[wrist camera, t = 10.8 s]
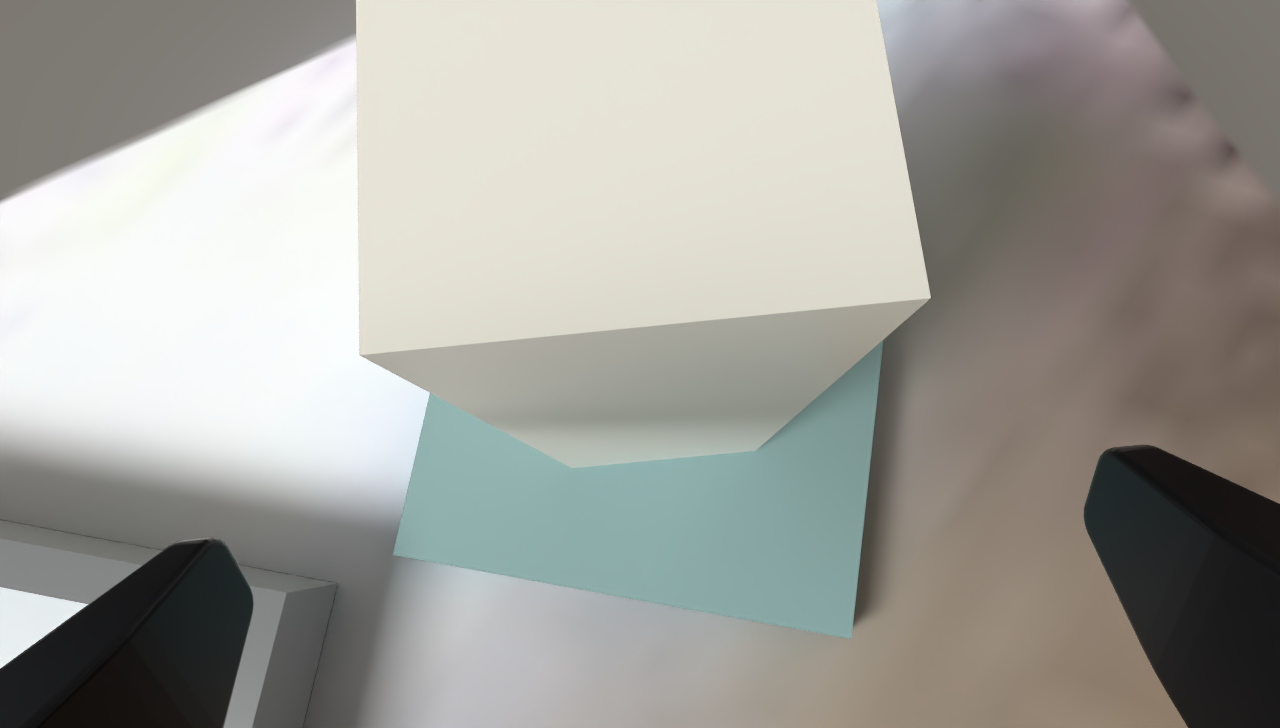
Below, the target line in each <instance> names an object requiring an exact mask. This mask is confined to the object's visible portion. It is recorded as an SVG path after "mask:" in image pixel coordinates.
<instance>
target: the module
mask: <svg viewBox="0 0 1280 728" xmlns="http://www.w3.org/2000/svg"><path fill="white" fill-rule="evenodd" d="M356 43H357V142H358V242H359V341H360V356H362V357H364V358H366V359H368V360H370V361H371V362H373V363H375V364H377V365H379V366H381V367H383V368H385V369H386V370H388V371H390V372H392V373H394V374H396V375H398V376H400V377H401V378H403V379H405V380H407V381H409V382H411V383H413V384H415V385H417V386H418V387H420V388H422V389H424V390H426V391H428V392H430V393H432V394H433V395H435V396H437V397H439V398H441V399H443V400H445V401H447V402H448V403H450V404H452V405H454V406H456V407H458V408H460V409H462V410H463V411H465V412H467V413H469V414H471V415H473V416H475V417H477V418H478V419H480V420H482V421H484V422H486V423H488V424H490V425H492V426H493V427H495V428H497V429H499V430H501V431H503V432H505V433H507V434H508V435H510V436H512V437H514V438H516V439H518V440H520V441H522V442H523V443H525V444H527V445H529V446H531V447H533V448H535V449H537V450H539V451H540V452H542V453H544V454H546V455H548V456H550V457H552V458H554V459H555V460H557V461H559V462H561V463H563V464H565V465H567V466H569V467H570V468H580V467H591V466H601V465H612V464H622V463H633V462H643V461H654V460H664V459H675V458H685V457H696V456H706V455H717V454H727V453H738V452H748V451H756V450H757V449H758V448H759V447H760V446H762V445H763V444H764V443H765V442H766V441H767V440H769V439H770V438H771V437H772V436H773V435H774V434H775V433H777V432H778V431H779V430H780V429H781V428H782V427H783V426H785V425H786V424H787V423H788V422H789V421H790V420H792V419H793V418H794V417H795V416H796V415H797V414H798V413H800V412H801V411H802V410H803V409H804V408H805V407H806V406H808V405H809V404H810V403H811V402H812V401H813V400H814V399H816V398H817V397H818V396H819V395H820V394H821V393H823V392H824V391H825V390H826V389H827V388H828V387H829V386H831V385H832V384H833V383H834V382H835V381H836V380H837V379H839V378H840V377H841V376H842V375H843V374H844V373H846V372H847V371H848V370H849V369H850V368H851V367H852V366H854V365H855V364H856V363H857V362H858V361H859V360H860V359H862V358H863V357H864V356H865V355H866V354H867V353H869V352H870V351H871V350H872V349H873V348H874V347H875V346H877V345H878V344H879V343H880V342H881V341H882V340H883V339H885V338H886V337H887V336H888V335H889V334H890V333H892V332H893V331H894V330H895V329H896V328H897V327H898V326H900V325H901V324H902V323H903V322H904V321H905V320H906V319H908V318H909V317H910V316H911V315H912V314H913V313H915V312H916V311H917V310H918V309H919V308H920V307H921V306H923V305H924V304H925V303H926V302H927V301H928V300H929V299H931V295H930V290H929V285H928V279H927V274H926V268H925V263H924V257H923V252H922V246H921V241H920V236H919V230H918V225H917V219H916V214H915V208H914V203H913V197H912V192H911V186H910V181H909V176H908V170H907V165H906V159H905V154H904V148H903V143H902V137H901V132H900V127H899V121H898V116H897V110H896V105H895V99H894V94H893V88H892V83H891V77H890V72H889V67H888V61H887V56H886V50H885V45H884V39H883V34H882V28H881V23H880V18H879V12H878V7H877V1H876V0H356Z"/></svg>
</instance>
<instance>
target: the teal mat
mask: <svg viewBox="0 0 1280 728" xmlns="http://www.w3.org/2000/svg"><path fill="white" fill-rule="evenodd" d="M882 349H883V340H882V341H881V342H880V343H879V344H878V345H877V346H875V347H874V348H873V349H872V350H871V351H870V352H869V353H867V354H866V355H865V356H864V357H863V358H862V359H860V360H859V361H858V362H857V363H856V364H855V365H854V366H852V367H851V368H850V369H849V370H848V371H847V372H846V373H844V374H843V375H842V376H841V377H840V378H839V379H837V380H836V381H835V382H834V383H833V384H832V385H831V386H829V387H828V388H827V389H826V390H825V391H824V392H823V393H821V394H820V395H819V396H818V397H817V398H816V399H814V400H813V401H812V402H811V403H810V404H809V405H808V406H806V407H805V408H804V409H803V410H802V411H801V412H800V413H798V414H797V415H796V416H795V417H794V418H793V419H792V420H790V421H789V422H788V423H787V424H786V425H785V426H783V427H782V428H781V429H780V430H779V431H778V432H777V433H775V434H774V435H773V436H772V437H771V438H770V439H769V440H767V441H766V442H765V443H764V444H763V445H762V446H760V447H759V448H758V449H757V450H756V451H748V452H738V453H727V454H717V455H706V456H696V457H685V458H675V459H664V460H654V461H643V462H633V463H622V464H612V465H601V466H591V467H580V468H570V467H569V466H567V465H565V464H563V463H561V462H559V461H557V460H555V459H554V458H552V457H550V456H548V455H546V454H544V453H542V452H540V451H539V450H537V449H535V448H533V447H531V446H529V445H527V444H525V443H523V442H522V441H520V440H518V439H516V438H514V437H512V436H510V435H508V434H507V433H505V432H503V431H501V430H499V429H497V428H495V427H493V426H492V425H490V424H488V423H486V422H484V421H482V420H480V419H478V418H477V417H475V416H473V415H471V414H469V413H467V412H465V411H463V410H462V409H460V408H458V407H456V406H454V405H452V404H450V403H448V402H447V401H445V400H443V399H441V398H439V397H437V396H435V395H433V394H432V393H430V396H429V400H428V404H427V409H426V413H425V417H424V421H423V426H422V430H421V434H420V439H419V443H418V447H417V452H416V456H415V460H414V465H413V469H412V473H411V478H410V482H409V486H408V490H407V495H406V499H405V503H404V508H403V512H402V516H401V521H400V525H399V529H398V534H397V538H396V542H395V547H394V551H393V555H396V556H402V557H407V558H413V559H418V560H424V561H429V562H434V563H440V564H445V565H451V566H456V567H462V568H467V569H473V570H478V571H483V572H489V573H494V574H500V575H505V576H511V577H516V578H522V579H527V580H532V581H538V582H543V583H549V584H554V585H560V586H565V587H571V588H576V589H581V590H587V591H592V592H598V593H603V594H609V595H614V596H620V597H625V598H630V599H636V600H641V601H647V602H652V603H658V604H663V605H669V606H674V607H679V608H685V609H690V610H696V611H701V612H707V613H712V614H718V615H723V616H728V617H734V618H739V619H745V620H750V621H756V622H761V623H767V624H772V625H777V626H783V627H788V628H794V629H799V630H805V631H810V632H816V633H821V634H826V635H832V636H837V637H843V638H848V639H851V638H852V629H853V620H854V610H855V601H856V592H857V582H858V573H859V564H860V554H861V545H862V536H863V526H864V517H865V508H866V498H867V489H868V479H869V470H870V461H871V451H872V442H873V433H874V423H875V414H876V405H877V395H878V386H879V377H880V367H881V358H882Z"/></svg>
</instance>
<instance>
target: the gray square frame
mask: <svg viewBox="0 0 1280 728" xmlns="http://www.w3.org/2000/svg"><path fill="white" fill-rule="evenodd" d="M161 551H163V550H157V549H152V548H147V547H141V546H136V545H131V544H125V543H120V542H115V541H109V540H104V539H99V538H93V537H88V536H83V535H77V534H72V533H67V532H61V531H56V530H51V529H45V528H40V527H35V526H30V525H24V524H19V523H14V522H8V521H3V520H0V587H4V588H9V589H14V590H19V591H24V592H29V593H34V594H39V595H44V596H50V597H55V598H60V599H65V600H70V601H75V602H80V603H85V604H90V603H91V602H93V601H94V600H95V599H97V598H98V597H99V596H101V595H102V594H104V593H105V592H106V591H108V590H109V589H110V588H112V587H113V586H115V585H116V584H117V583H119V582H120V581H121V580H123V579H124V578H126V577H127V576H128V575H130V574H131V573H132V572H134V571H135V570H137V569H138V568H139V567H141V566H142V565H143V564H145V563H146V562H148V561H149V560H150V559H152V558H153V557H154V556H156V555H157V554H159V553H160V552H161ZM238 566H239V568H240V570H241V572H242V573H243V575H244V577H245V579H246V580H247V582H248V584H249V586H250V588H251V590H252V594H253V601H254V606H253V614H252V619H251V623H250V626H249V630H248V634H247V638H246V642H245V646H244V650H243V654H242V658H241V662H240V666H239V669H238V673H237V677H236V681H235V685H234V689H233V693H232V697H231V701H230V705H229V709H228V712H227V716H226V720H225V724H224V728H303V724H304V720H305V715H306V711H307V707H308V703H309V699H310V695H311V691H312V687H313V683H314V679H315V675H316V670H317V666H318V662H319V658H320V654H321V650H322V646H323V642H324V638H325V634H326V630H327V625H328V621H329V617H330V613H331V609H332V605H333V601H334V597H335V593H336V589H337V585H338V583H333V582H327V581H322V580H317V579H311V578H306V577H301V576H295V575H290V574H285V573H280V572H274V571H269V570H264V569H258V568H253V567H248V566H242V565H238Z"/></svg>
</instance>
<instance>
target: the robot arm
mask: <svg viewBox="0 0 1280 728" xmlns="http://www.w3.org/2000/svg"><path fill="white" fill-rule="evenodd" d="M1084 521H1085V526H1086V529H1087V532H1088V534H1089V536H1090V539H1091V541H1092V543H1093V545H1094V547H1095V549H1096V551H1097V553H1098V555H1099V557H1100V560H1101V562H1102V564H1103V566H1104V568H1105V570H1106V572H1107V574H1108V576H1109V579H1110V581H1111V583H1112V585H1113V587H1114V589H1115V591H1116V593H1117V595H1118V597H1119V600H1120V602H1121V604H1122V606H1123V608H1124V610H1125V612H1126V614H1127V616H1128V618H1129V621H1130V623H1131V625H1132V627H1133V629H1134V631H1135V633H1136V635H1137V637H1138V640H1139V642H1140V644H1141V646H1142V648H1143V650H1144V652H1145V654H1146V656H1147V658H1148V660H1149V661H1150V663H1151V665H1152V667H1153V669H1154V671H1155V673H1156V675H1157V676H1158V678H1159V680H1160V681H1161V683H1162V685H1163V687H1164V688H1165V690H1166V692H1167V694H1168V695H1169V697H1170V699H1171V700H1172V702H1173V704H1174V705H1175V707H1176V708H1177V710H1178V712H1179V713H1180V715H1181V717H1182V718H1183V720H1184V722H1185V723H1186V725H1187V727H1188V728H1280V504H1278V503H1276V502H1274V501H1272V500H1270V499H1268V498H1265V497H1263V496H1261V495H1259V494H1257V493H1255V492H1252V491H1250V490H1248V489H1246V488H1244V487H1242V486H1239V485H1237V484H1235V483H1233V482H1231V481H1229V480H1227V479H1224V478H1222V477H1220V476H1218V475H1216V474H1214V473H1211V472H1209V471H1207V470H1205V469H1203V468H1201V467H1198V466H1196V465H1194V464H1192V463H1190V462H1188V461H1185V460H1183V459H1181V458H1179V457H1177V456H1175V455H1172V454H1170V453H1168V452H1166V451H1164V450H1162V449H1159V448H1157V447H1155V446H1151V445H1134V446H1124V447H1114V448H1110V449H1107V450H1106V451H1105V452H1104V453H1103V454H1102V455H1101V456H1100V458H1099V460H1098V463H1097V467H1096V470H1095V473H1094V477H1093V480H1092V483H1091V486H1090V490H1089V493H1088V496H1087V500H1086V503H1085V507H1084ZM253 606H254V601H253V594H252V590H251V588H250V586H249V584H248V582H247V580H246V579H245V577H244V575H243V573H242V572H241V570H240V568H239V566H238V564H237V563H236V561H235V559H234V557H233V555H232V554H231V552H230V550H229V548H228V547H227V545H226V544H225V543H224V542H223V541H221V540H220V539H218V538H213V537H209V538H199V539H189V540H182V541H178V542H175V543H173V544H171V545H170V546H168V547H167V548H165V549H164V550H163V551H161V552H160V553H159V554H157V555H156V556H154V557H153V558H152V559H150V560H149V561H148V562H146V563H145V564H143V565H142V566H141V567H139V568H138V569H137V570H135V571H134V572H132V573H131V574H130V575H128V576H127V577H126V578H124V579H123V580H121V581H120V582H119V583H117V584H116V585H115V586H113V587H112V588H110V589H109V590H108V591H106V592H105V593H104V594H102V595H101V596H99V597H98V598H97V599H95V600H94V601H93V602H91V603H90V604H88V605H87V606H86V607H84V608H83V609H82V610H80V611H79V612H77V613H76V614H75V615H73V616H72V617H71V618H69V619H68V620H66V621H65V622H64V623H62V624H61V625H60V626H58V627H57V628H56V629H54V630H53V631H51V632H50V633H49V634H47V635H46V636H45V637H43V638H42V639H40V640H39V641H38V642H36V643H35V644H34V645H32V646H31V647H29V648H28V649H27V650H25V651H24V652H23V653H21V654H20V655H18V656H17V657H16V658H14V659H13V660H12V661H10V662H9V663H7V664H6V665H5V666H3V667H2V668H1V669H0V728H224V724H225V720H226V716H227V712H228V709H229V705H230V701H231V697H232V693H233V689H234V685H235V681H236V677H237V673H238V669H239V666H240V662H241V658H242V654H243V650H244V646H245V642H246V638H247V634H248V630H249V626H250V623H251V619H252V614H253Z"/></svg>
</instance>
